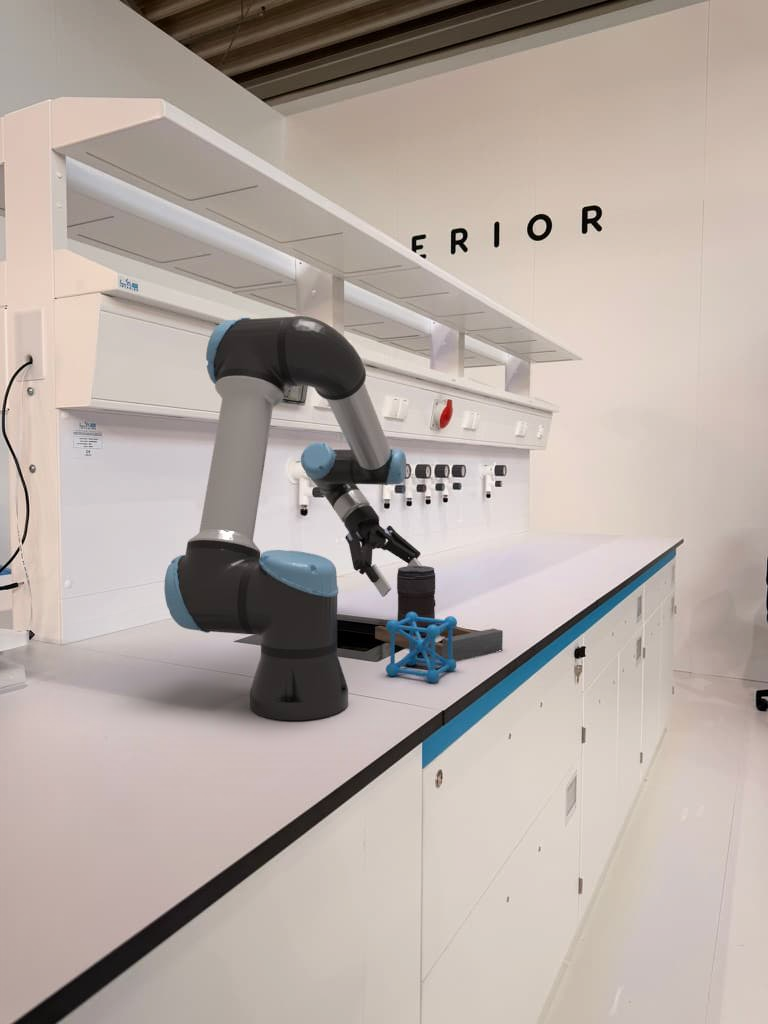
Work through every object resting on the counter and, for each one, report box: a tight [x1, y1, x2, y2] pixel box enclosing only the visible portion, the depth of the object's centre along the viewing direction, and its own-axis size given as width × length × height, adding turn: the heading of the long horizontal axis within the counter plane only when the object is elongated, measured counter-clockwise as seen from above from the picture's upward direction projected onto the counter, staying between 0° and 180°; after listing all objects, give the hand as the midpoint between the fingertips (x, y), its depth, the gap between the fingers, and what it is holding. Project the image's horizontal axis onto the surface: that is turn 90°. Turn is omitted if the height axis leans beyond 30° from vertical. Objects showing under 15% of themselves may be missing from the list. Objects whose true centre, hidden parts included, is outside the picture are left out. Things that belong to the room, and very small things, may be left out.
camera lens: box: [396, 565, 436, 638], centre depth 155 cm, size 8×8×15 cm
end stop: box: [441, 628, 504, 662], centre depth 143 cm, size 14×2×4 cm, turn 129°
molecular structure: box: [385, 612, 458, 684], centre depth 130 cm, size 10×10×10 cm
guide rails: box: [374, 623, 477, 657], centre depth 152 cm, size 14×21×2 cm
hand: (407, 588), depth 158 cm, fingers open, 13 cm apart
